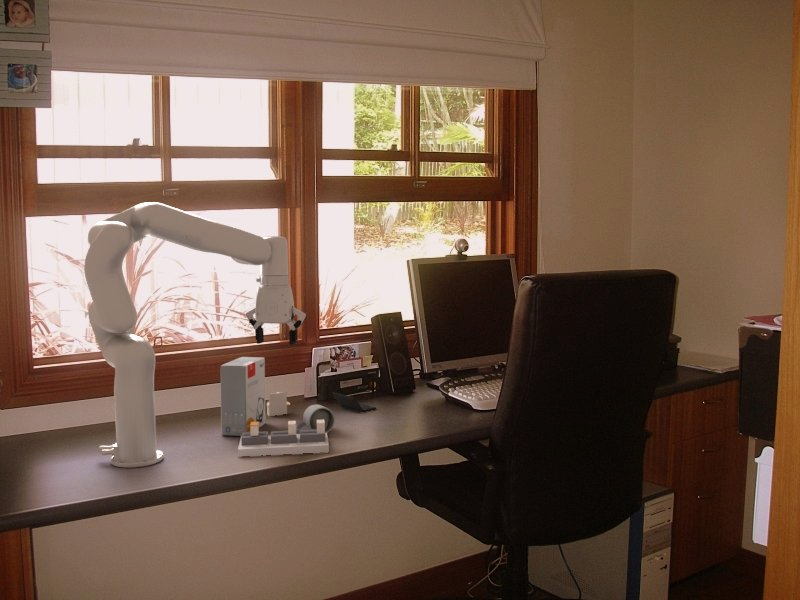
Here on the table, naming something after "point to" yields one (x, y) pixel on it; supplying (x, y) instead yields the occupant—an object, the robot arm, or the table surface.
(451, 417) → the table surface
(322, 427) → the white slotted rack
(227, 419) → the hard drive box
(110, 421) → the table surface
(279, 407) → the architectural model
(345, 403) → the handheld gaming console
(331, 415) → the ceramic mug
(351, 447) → the table surface
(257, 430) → the breaker handle
